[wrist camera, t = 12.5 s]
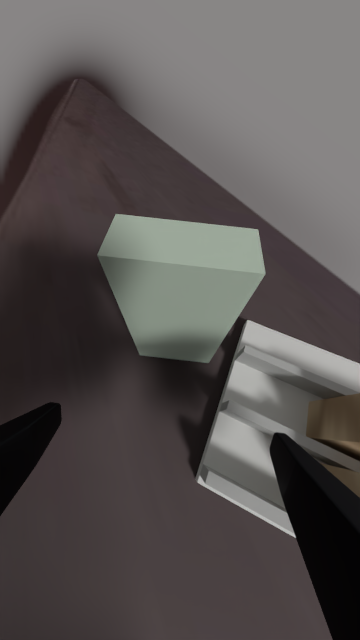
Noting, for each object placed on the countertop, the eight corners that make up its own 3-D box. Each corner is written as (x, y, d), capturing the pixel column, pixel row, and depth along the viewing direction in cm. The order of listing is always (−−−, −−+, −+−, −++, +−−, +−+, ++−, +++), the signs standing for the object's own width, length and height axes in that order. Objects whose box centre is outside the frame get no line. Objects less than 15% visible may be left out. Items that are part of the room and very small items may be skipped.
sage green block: (208, 363, 16) (265, 273, 7) (139, 355, 16) (97, 255, 7) (209, 336, 17) (258, 229, 8) (145, 329, 17) (115, 214, 8)
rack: (490, 643, 10) (609, 725, 7) (195, 478, 12) (202, 492, 10) (435, 401, 16) (488, 396, 13) (243, 324, 18) (256, 308, 16)
